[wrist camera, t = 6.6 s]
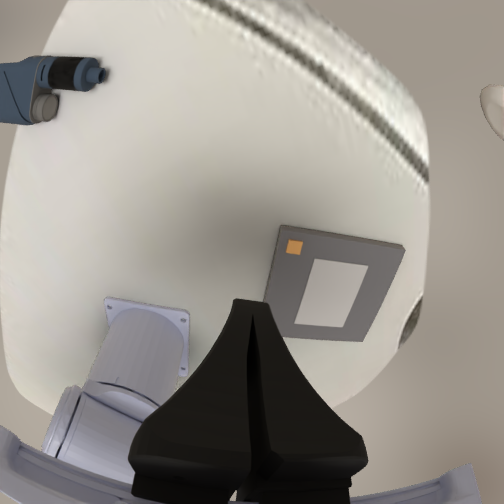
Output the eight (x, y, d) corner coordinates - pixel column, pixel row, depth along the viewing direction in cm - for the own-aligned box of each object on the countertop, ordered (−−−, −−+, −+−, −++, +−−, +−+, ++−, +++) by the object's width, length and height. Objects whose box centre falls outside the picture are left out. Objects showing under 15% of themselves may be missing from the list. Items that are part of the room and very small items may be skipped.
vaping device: (0, 58, 14) (114, 58, 15) (-9, 117, 16) (98, 131, 18) (-20, 59, 11) (97, 56, 13) (-29, 123, 14) (80, 137, 16)
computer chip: (360, 336, 27) (363, 343, 26) (257, 328, 26) (257, 336, 25) (401, 245, 22) (406, 251, 21) (280, 225, 21) (282, 231, 20)
